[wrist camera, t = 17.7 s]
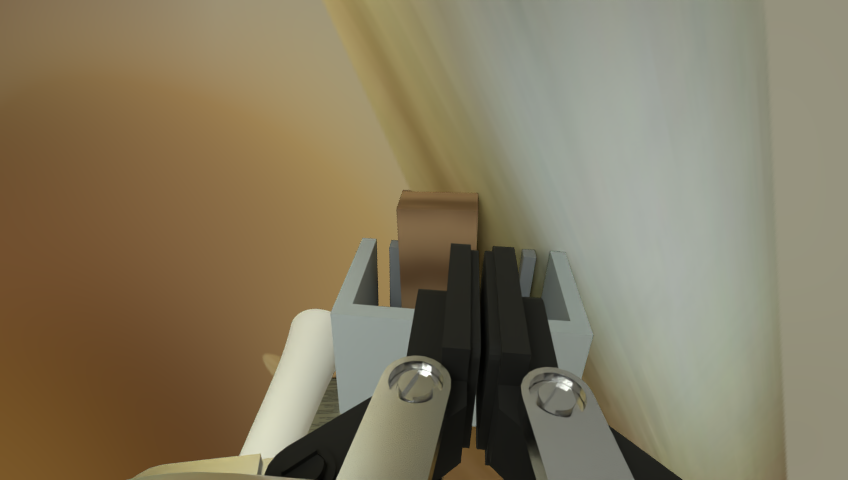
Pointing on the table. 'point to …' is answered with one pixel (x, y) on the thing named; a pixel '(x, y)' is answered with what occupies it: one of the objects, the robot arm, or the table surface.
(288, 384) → the cosmetic bottle
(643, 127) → the table surface
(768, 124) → the table surface
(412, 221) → the brown rounded block
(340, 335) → the grey long box
